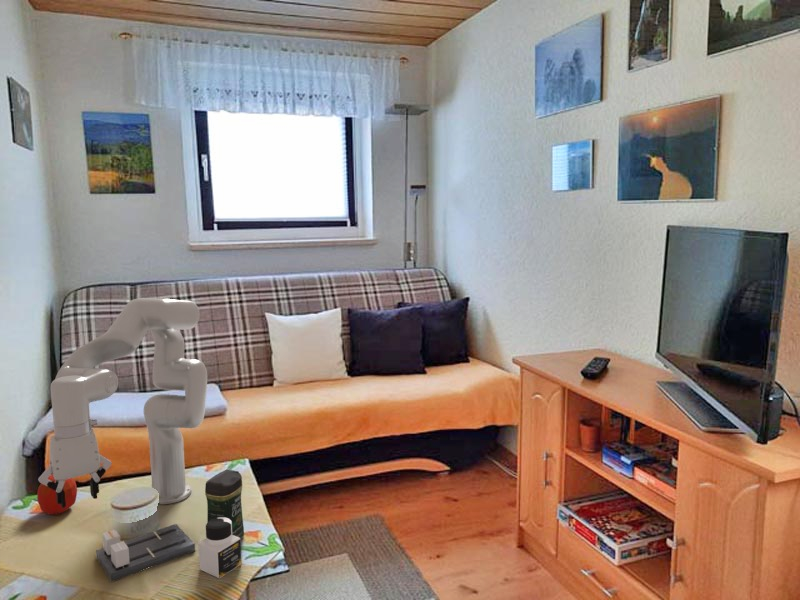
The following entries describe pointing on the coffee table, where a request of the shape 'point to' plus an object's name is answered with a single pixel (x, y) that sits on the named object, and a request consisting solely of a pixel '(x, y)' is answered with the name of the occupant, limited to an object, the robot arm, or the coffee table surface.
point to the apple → (49, 499)
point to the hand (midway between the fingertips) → (78, 500)
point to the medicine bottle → (219, 548)
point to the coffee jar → (226, 499)
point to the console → (148, 551)
